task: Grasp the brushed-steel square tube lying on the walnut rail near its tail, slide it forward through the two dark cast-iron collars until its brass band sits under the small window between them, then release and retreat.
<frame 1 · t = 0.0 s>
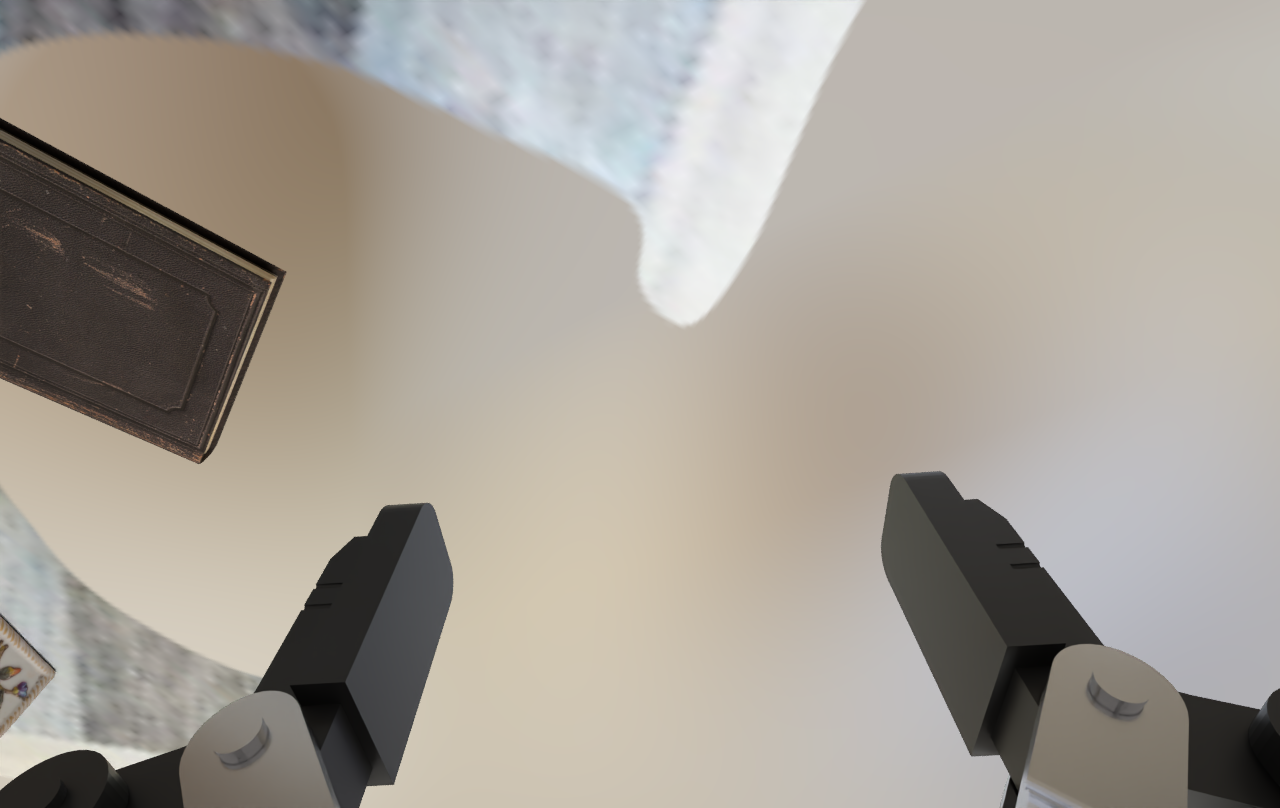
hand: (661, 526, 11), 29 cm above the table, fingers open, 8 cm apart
hardcover book: (63, 275, 40), on the table
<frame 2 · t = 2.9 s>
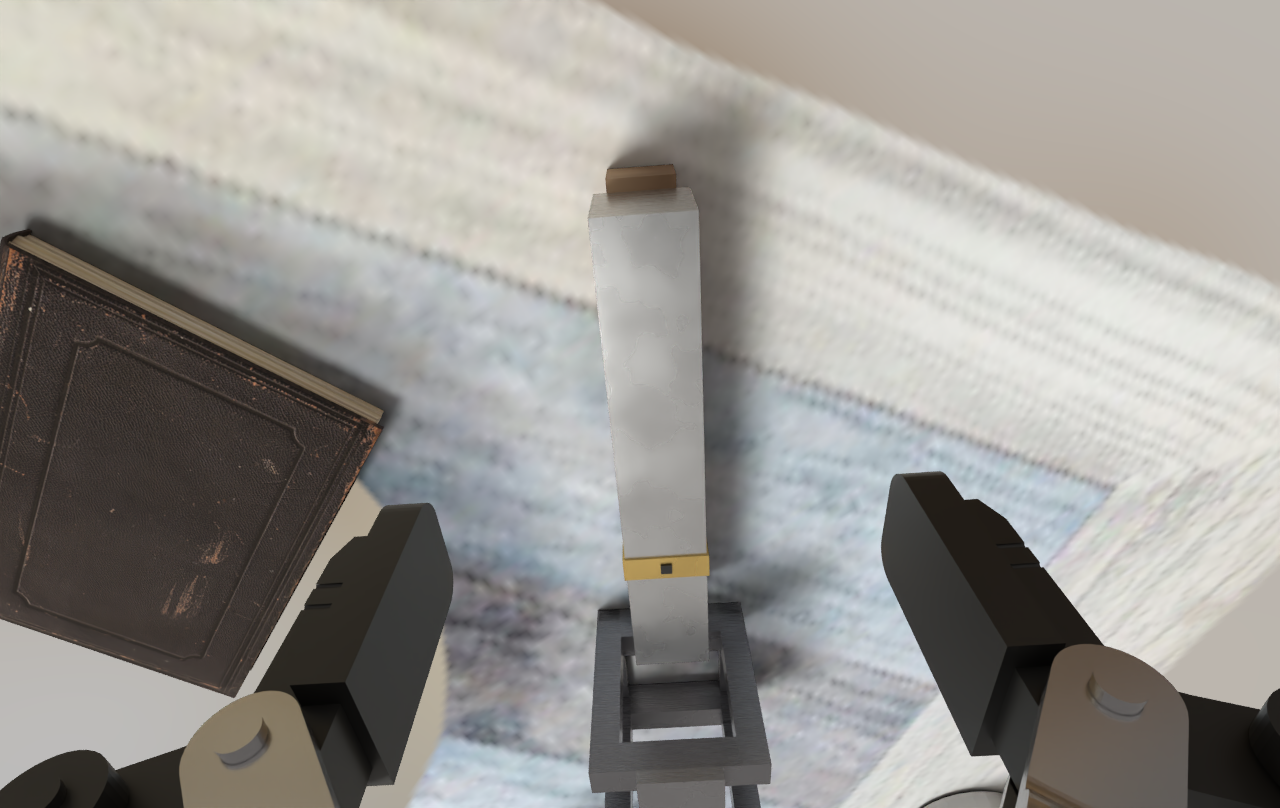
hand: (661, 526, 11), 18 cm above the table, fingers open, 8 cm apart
walnut rail: (656, 419, 31), on the table
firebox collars: (672, 655, 40), on the table
hardcover book: (170, 488, 34), on the table
square steel tube: (657, 437, 29), point 2 cm above the table, touching walnut rail
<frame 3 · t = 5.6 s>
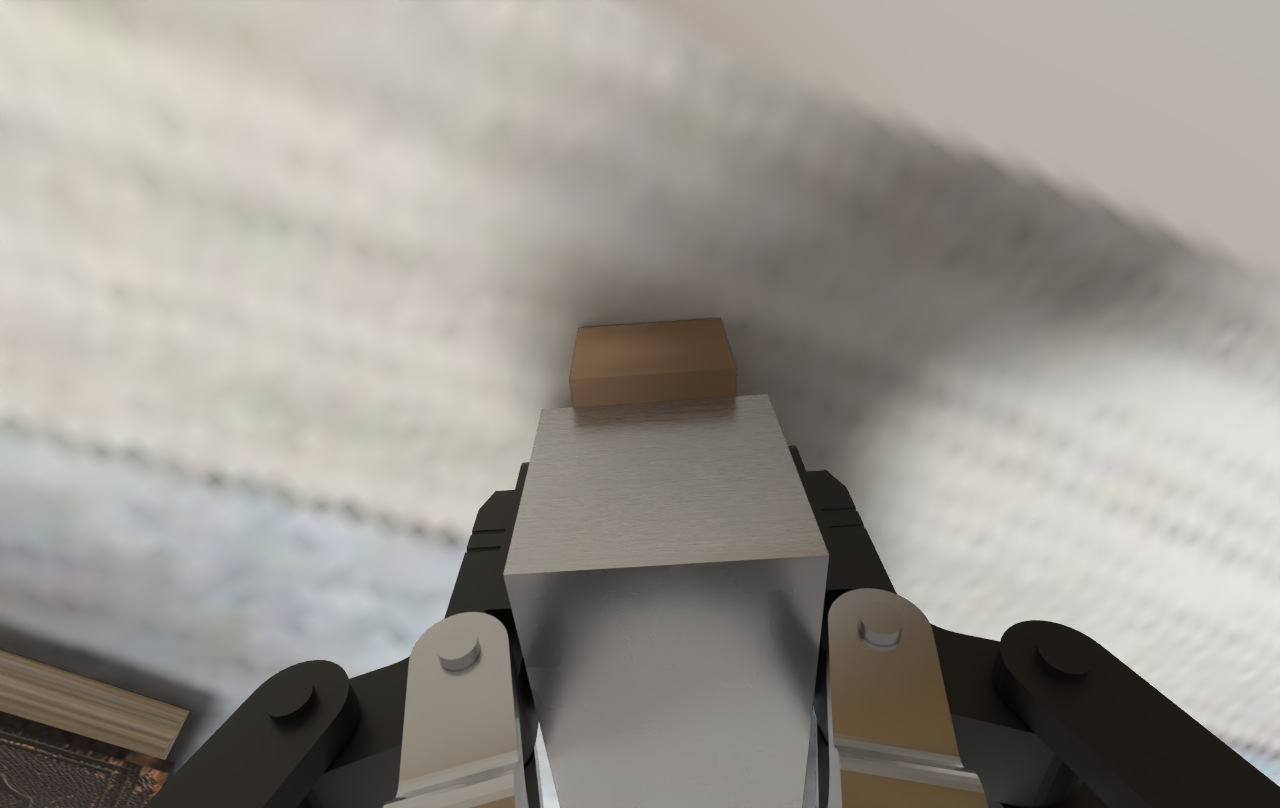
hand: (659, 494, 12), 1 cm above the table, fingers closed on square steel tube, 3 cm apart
walnut rail: (676, 718, 18), on the table
square steel tube: (680, 787, 16), point 2 cm above the table, touching gripper, walnut rail
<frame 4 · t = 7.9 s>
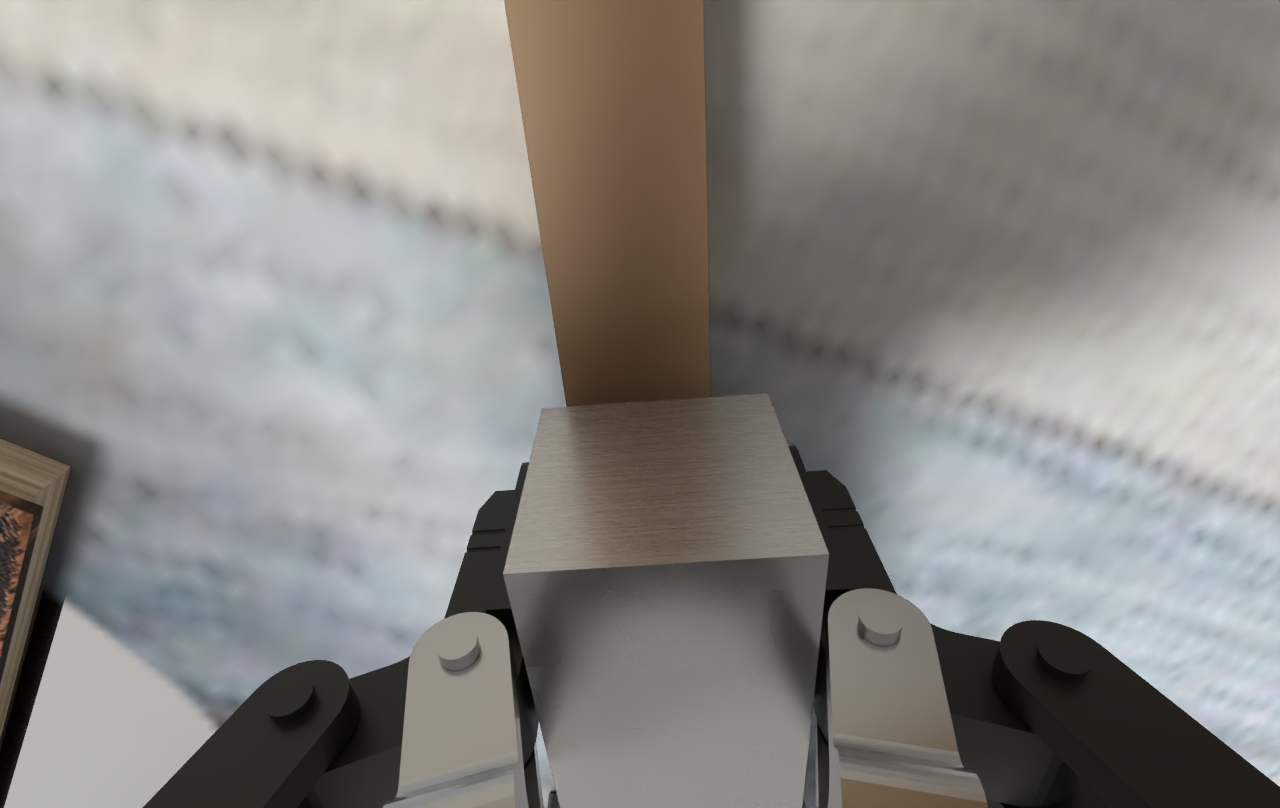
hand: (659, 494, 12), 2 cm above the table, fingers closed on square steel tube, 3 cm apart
walnut rail: (647, 477, 15), on the table
square steel tube: (680, 787, 16), point 3 cm above the table, touching gripper
when the fingers open (1 cm above the table, at t = 10.7 s): square steel tube stays where it is, resting on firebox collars, walnut rail.
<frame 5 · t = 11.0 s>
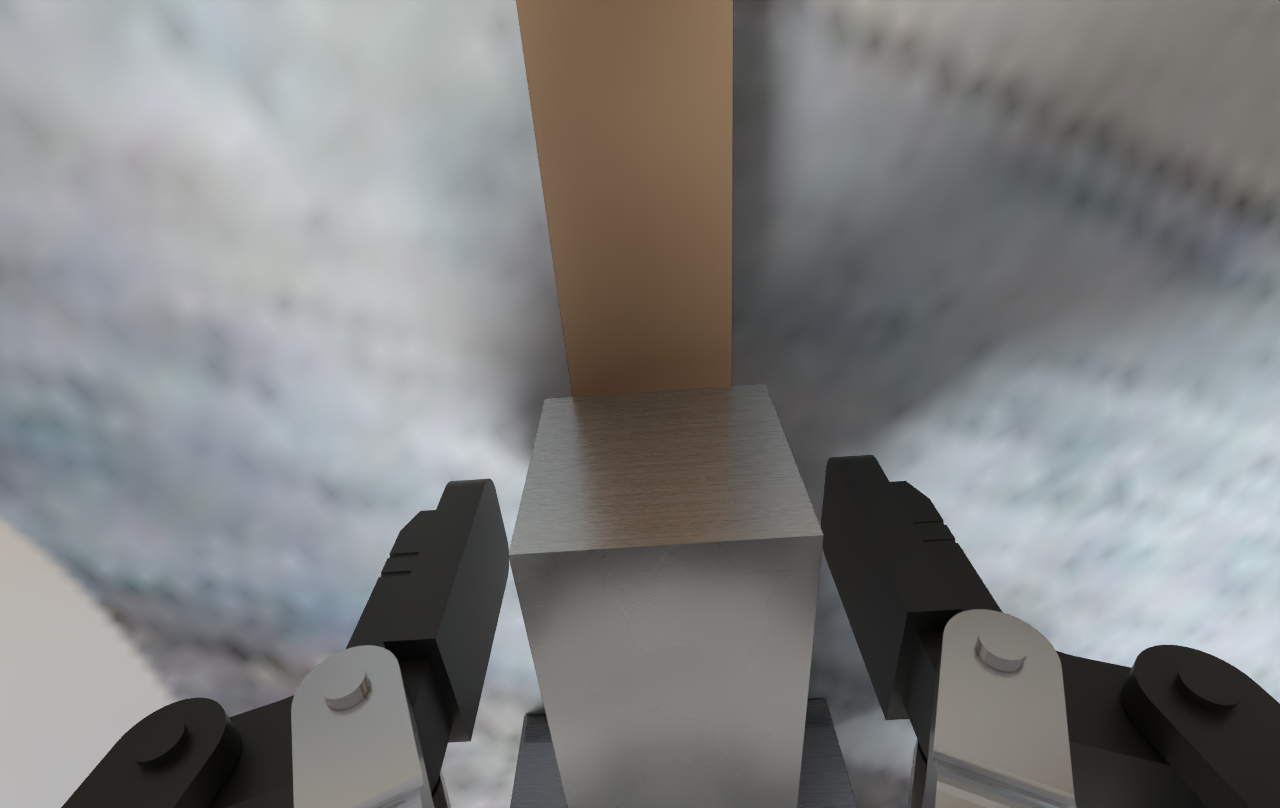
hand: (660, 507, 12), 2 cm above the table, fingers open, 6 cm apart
walnut rail: (642, 250, 11), on the table
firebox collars: (680, 793, 20), on the table
square steel tube: (680, 775, 16), point 2 cm above the table, touching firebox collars, walnut rail
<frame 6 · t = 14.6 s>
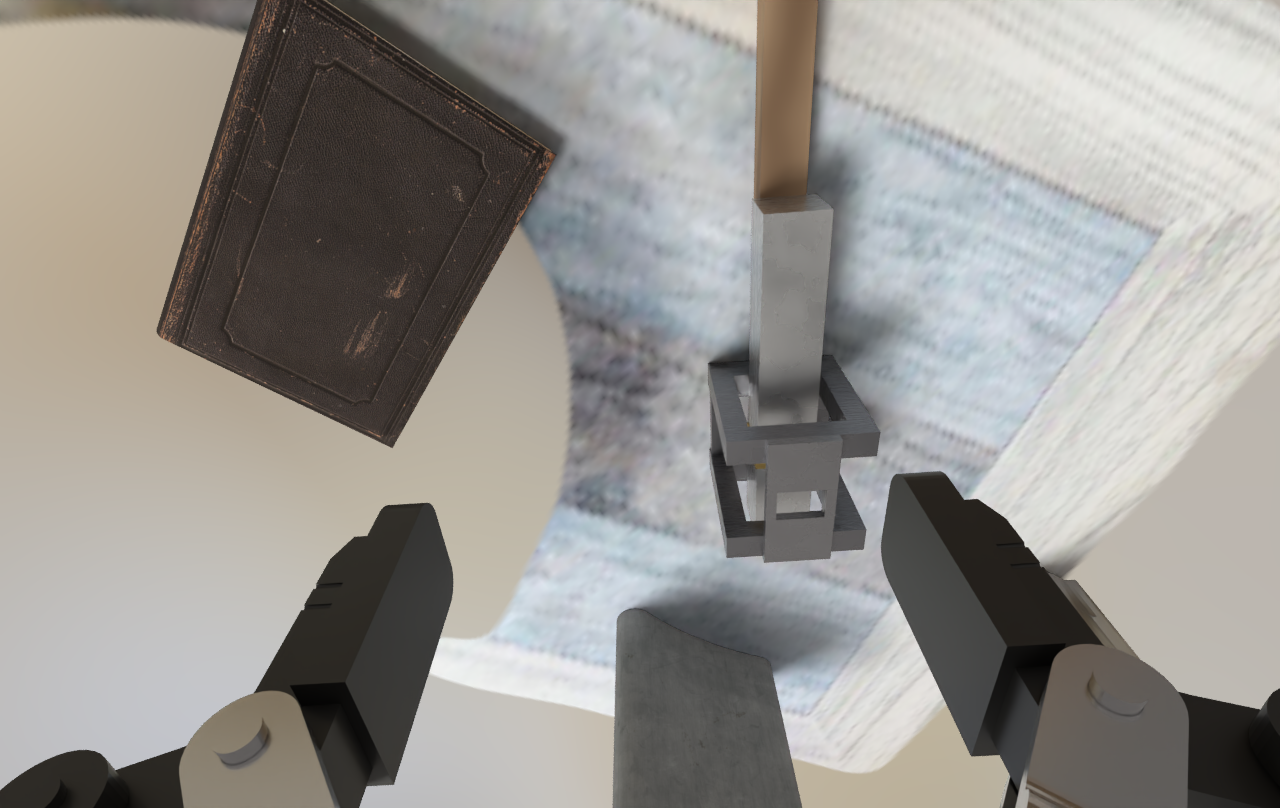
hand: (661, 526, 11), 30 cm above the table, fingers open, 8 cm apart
walnut rail: (777, 157, 37), on the table
hip flask: (693, 646, 58), on the table
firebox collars: (768, 413, 45), on the table
hardcover book: (355, 238, 40), on the table
square steel tube: (776, 369, 41), point 2 cm above the table, touching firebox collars, walnut rail
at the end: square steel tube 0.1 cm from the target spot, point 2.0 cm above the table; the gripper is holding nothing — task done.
